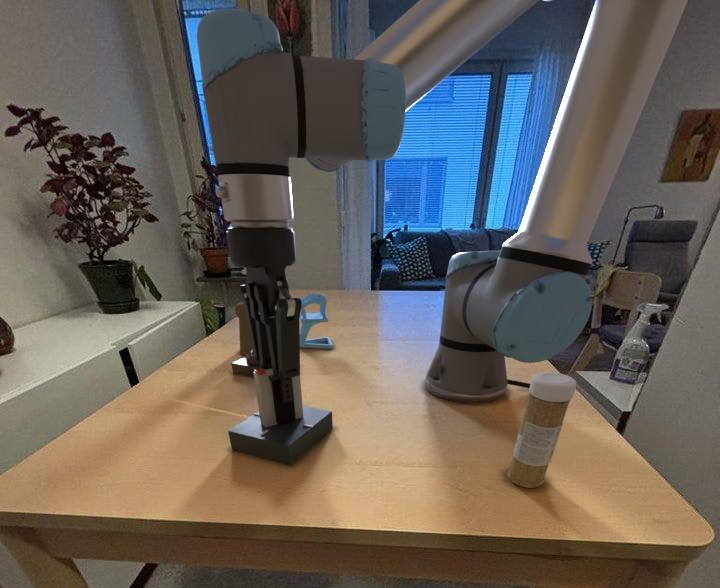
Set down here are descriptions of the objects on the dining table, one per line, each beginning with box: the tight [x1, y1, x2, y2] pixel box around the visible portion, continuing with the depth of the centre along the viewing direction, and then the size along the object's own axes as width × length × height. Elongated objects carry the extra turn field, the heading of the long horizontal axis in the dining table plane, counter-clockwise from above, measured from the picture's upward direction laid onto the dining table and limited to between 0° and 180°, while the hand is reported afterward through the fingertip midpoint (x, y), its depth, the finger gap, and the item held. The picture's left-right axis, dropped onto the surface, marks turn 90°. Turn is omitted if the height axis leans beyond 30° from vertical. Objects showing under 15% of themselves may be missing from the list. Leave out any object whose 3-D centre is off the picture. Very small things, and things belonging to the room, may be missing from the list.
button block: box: [230, 348, 261, 378], centre depth 83 cm, size 10×9×4 cm
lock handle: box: [253, 368, 303, 427], centre depth 55 cm, size 6×2×8 cm, turn 125°
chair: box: [299, 293, 334, 350], centre depth 97 cm, size 8×8×12 cm
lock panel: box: [227, 404, 334, 466], centre depth 58 cm, size 10×12×3 cm
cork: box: [234, 301, 252, 356], centre depth 93 cm, size 6×6×11 cm
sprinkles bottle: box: [507, 371, 578, 489], centre depth 47 cm, size 5×5×13 cm
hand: (282, 417), depth 57 cm, fingers closed on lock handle, 2 cm apart
